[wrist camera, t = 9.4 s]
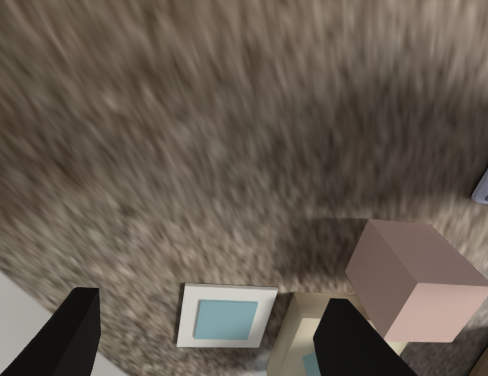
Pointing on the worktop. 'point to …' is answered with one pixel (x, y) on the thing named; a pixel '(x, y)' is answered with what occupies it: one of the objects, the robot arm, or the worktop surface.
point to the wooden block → (481, 366)
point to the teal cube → (311, 365)
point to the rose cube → (414, 282)
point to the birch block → (306, 332)
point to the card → (224, 315)
